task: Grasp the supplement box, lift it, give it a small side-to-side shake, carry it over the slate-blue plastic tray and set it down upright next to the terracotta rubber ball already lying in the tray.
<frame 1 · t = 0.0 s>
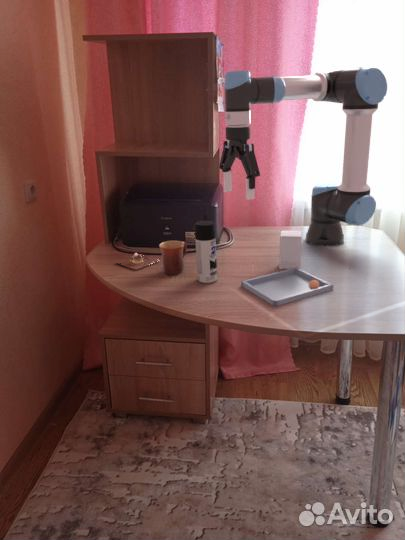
hand: (238, 195, 150), 28 cm above the table, fingers open, 13 cm apart
supplement box: (289, 268, 166), on the table
ball: (313, 289, 146), point 1 cm above the table, touching tray
tray: (286, 289, 148), on the table
spray can: (207, 280, 159), on the table
mug: (176, 270, 168), on the table
dessert: (138, 264, 177), on the table
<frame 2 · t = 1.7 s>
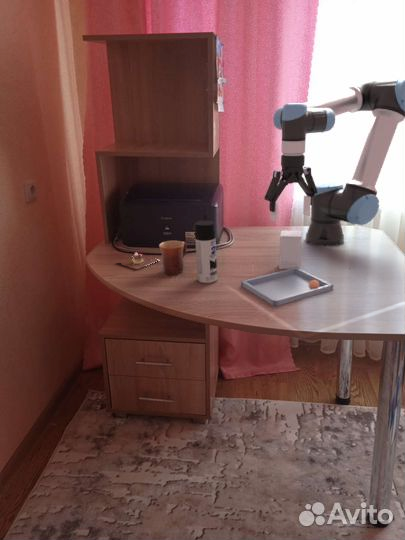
hand: (290, 217, 160), 18 cm above the table, fingers open, 13 cm apart
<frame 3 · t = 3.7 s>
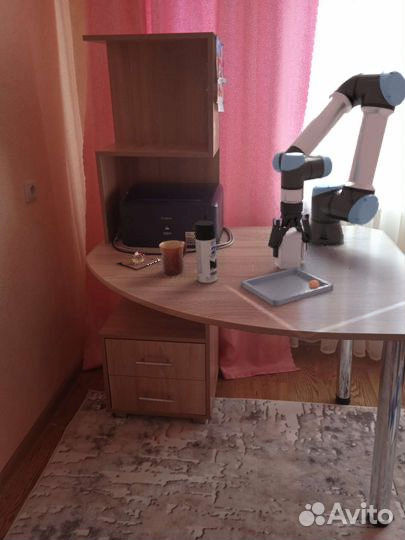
hand: (289, 262, 166), 2 cm above the table, fingers closed on supplement box, 10 cm apart
supplement box: (289, 267, 166), on the table, touching gripper
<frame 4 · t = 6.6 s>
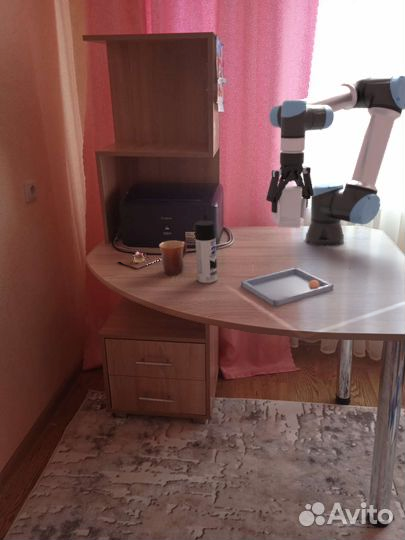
hand: (289, 219, 157), 18 cm above the table, fingers closed on supplement box, 10 cm apart
supplement box: (289, 225, 158), point 16 cm above the table, touching gripper
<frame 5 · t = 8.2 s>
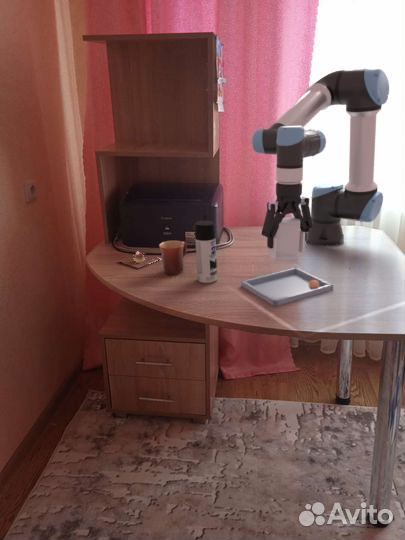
hand: (286, 254, 144), 12 cm above the table, fingers closed on supplement box, 10 cm apart
supplement box: (286, 260, 145), point 10 cm above the table, touching gripper
when the fingers open (4 cm above the table, at t = 9.5 s): supplement box drops 2 cm, resting on tray.
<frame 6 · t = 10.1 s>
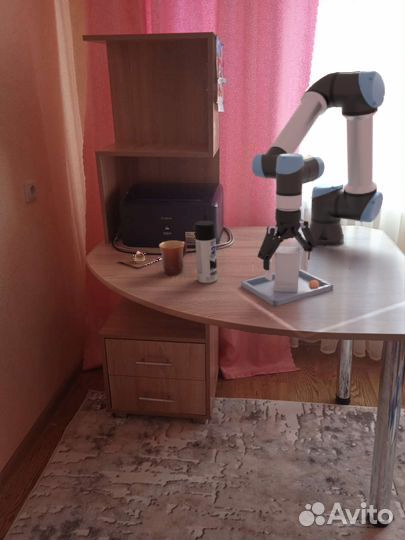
hand: (286, 274, 146), 5 cm above the table, fingers open, 13 cm apart
supplement box: (286, 288, 148), point 1 cm above the table, touching tray
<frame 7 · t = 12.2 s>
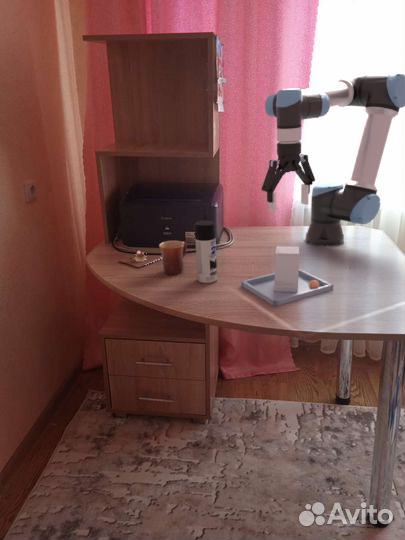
hand: (288, 207, 155), 22 cm above the table, fingers open, 13 cm apart
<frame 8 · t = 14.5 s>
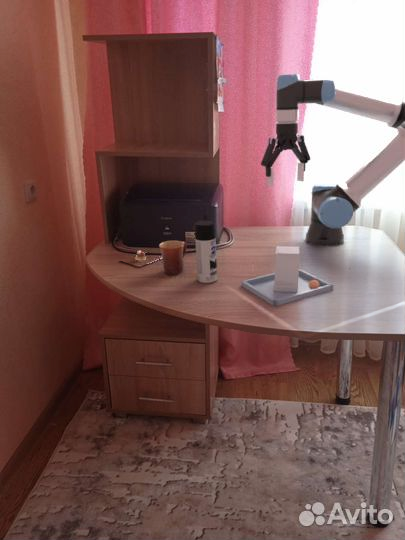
hand: (285, 183, 171), 27 cm above the table, fingers open, 13 cm apart
at the end: supplement box inside the target area on the tray (0.1 cm from its centre), point 0.6 cm above the tray's base; supplement box tilted 0°; ball inside the target area on the tray (8.5 cm from its centre), point 0.8 cm above the tray's base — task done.
